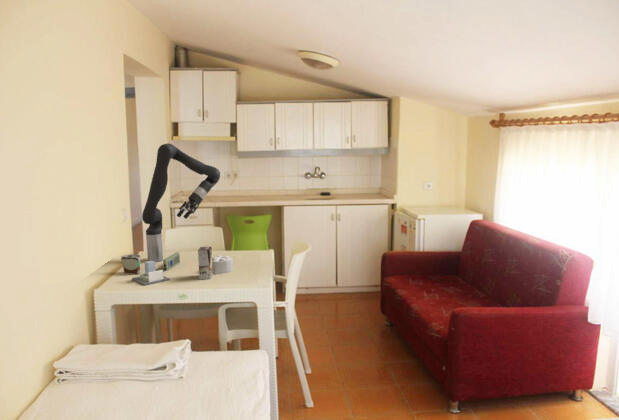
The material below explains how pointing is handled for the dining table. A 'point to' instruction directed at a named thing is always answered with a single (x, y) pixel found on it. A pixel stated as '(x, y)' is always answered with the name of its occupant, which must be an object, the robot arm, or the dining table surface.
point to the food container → (131, 264)
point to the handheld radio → (171, 261)
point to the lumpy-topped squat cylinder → (222, 264)
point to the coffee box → (205, 262)
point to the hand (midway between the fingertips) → (181, 217)
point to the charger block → (149, 267)
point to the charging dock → (151, 278)
